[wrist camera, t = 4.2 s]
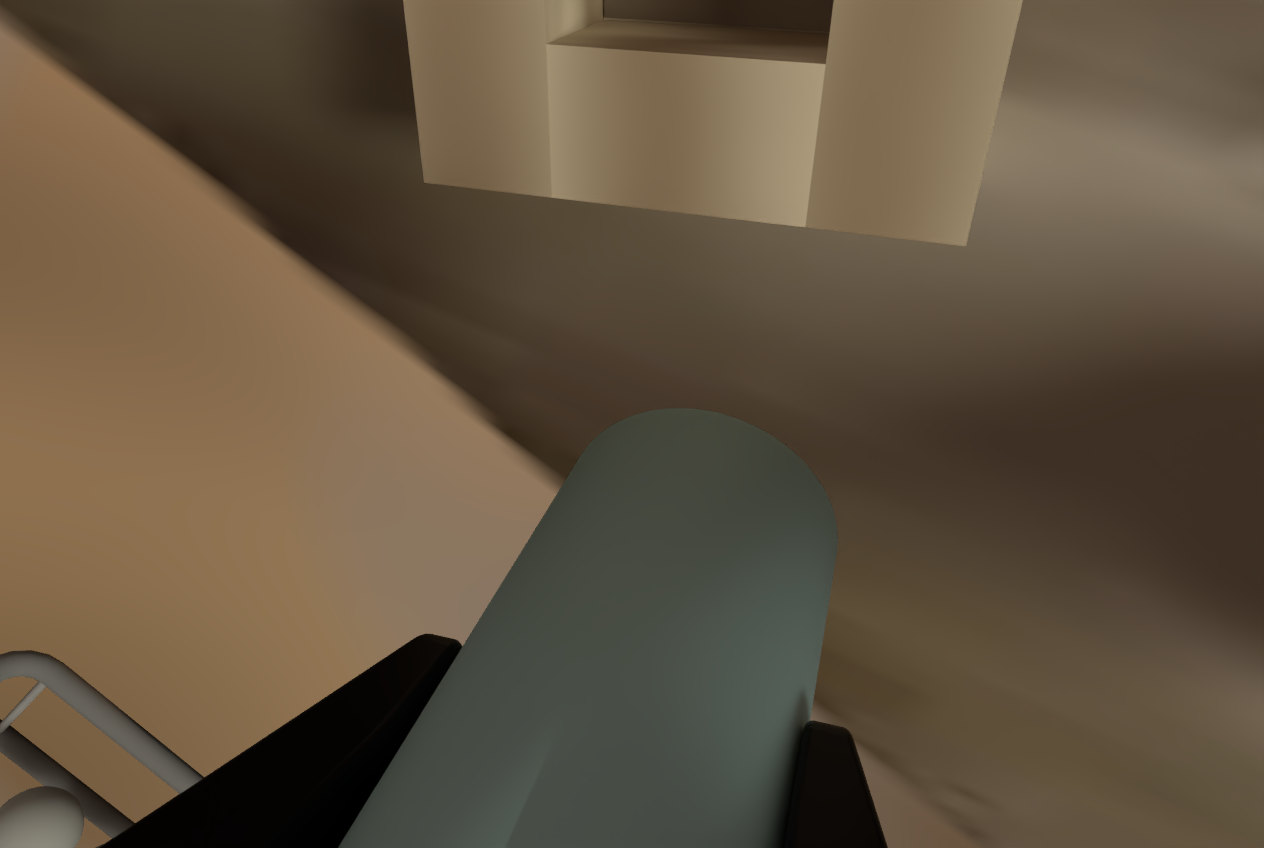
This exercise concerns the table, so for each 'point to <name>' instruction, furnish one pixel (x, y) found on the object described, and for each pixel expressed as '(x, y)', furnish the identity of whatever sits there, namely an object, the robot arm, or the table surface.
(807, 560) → the pin
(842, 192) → the jig block
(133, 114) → the table surface
